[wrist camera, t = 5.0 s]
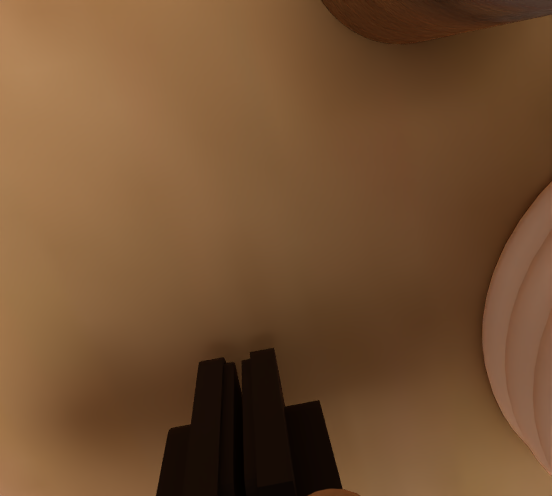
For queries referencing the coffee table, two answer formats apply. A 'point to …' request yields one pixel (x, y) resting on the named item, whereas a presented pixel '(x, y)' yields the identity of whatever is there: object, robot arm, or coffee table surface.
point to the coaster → (523, 329)
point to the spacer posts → (430, 16)
